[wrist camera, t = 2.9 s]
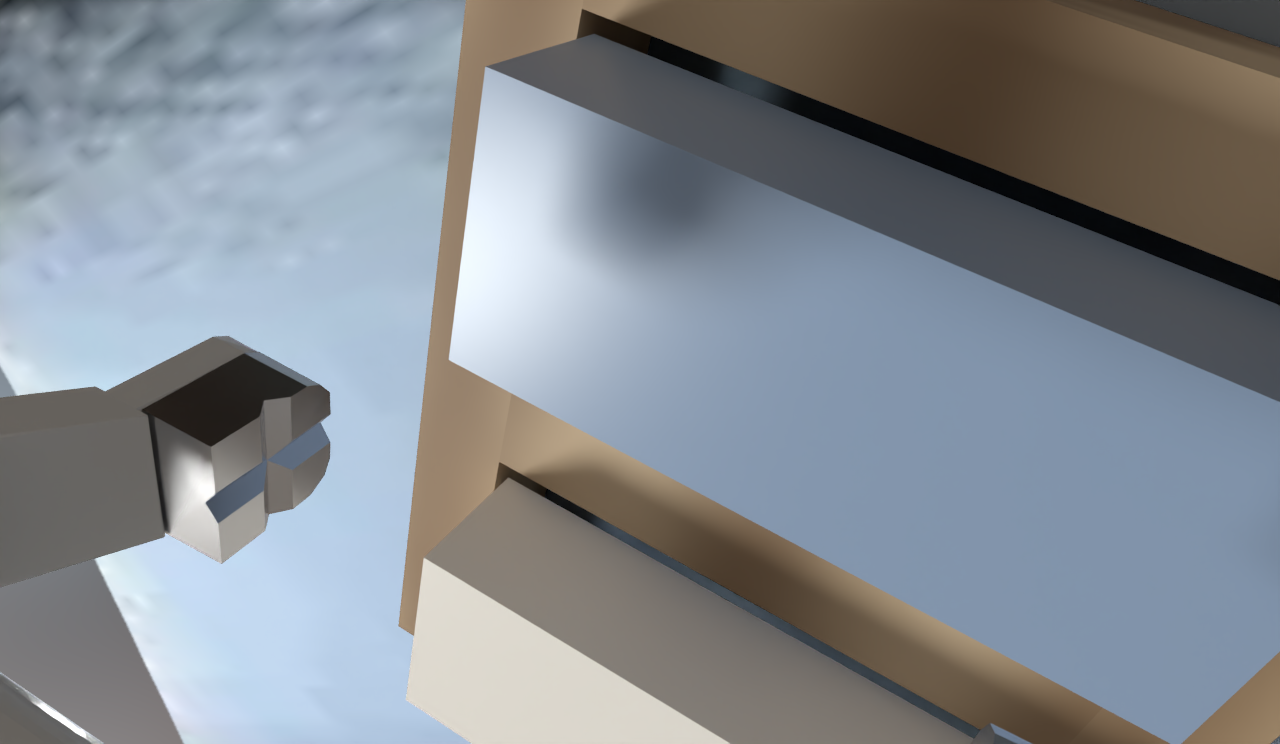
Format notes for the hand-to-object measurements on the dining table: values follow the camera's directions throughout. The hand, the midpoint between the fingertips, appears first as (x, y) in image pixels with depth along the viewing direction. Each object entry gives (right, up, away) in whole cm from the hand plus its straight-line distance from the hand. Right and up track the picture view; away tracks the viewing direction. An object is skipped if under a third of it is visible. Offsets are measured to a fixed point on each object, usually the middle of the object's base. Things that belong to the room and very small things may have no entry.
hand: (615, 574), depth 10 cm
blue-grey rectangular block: (+4, +3, +4) cm, 7 cm away
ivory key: (+2, -5, +10) cm, 11 cm away
